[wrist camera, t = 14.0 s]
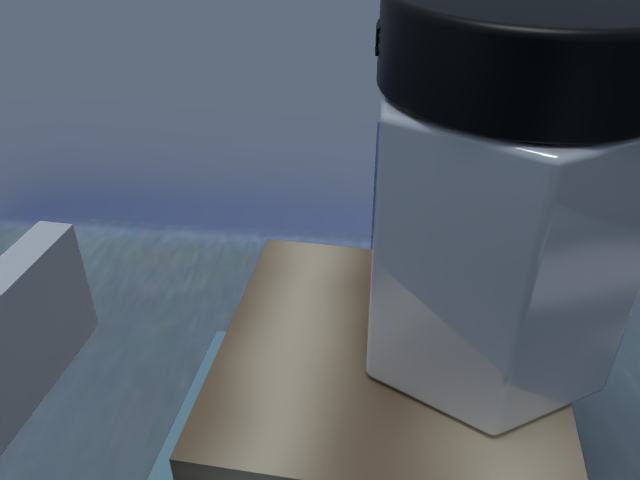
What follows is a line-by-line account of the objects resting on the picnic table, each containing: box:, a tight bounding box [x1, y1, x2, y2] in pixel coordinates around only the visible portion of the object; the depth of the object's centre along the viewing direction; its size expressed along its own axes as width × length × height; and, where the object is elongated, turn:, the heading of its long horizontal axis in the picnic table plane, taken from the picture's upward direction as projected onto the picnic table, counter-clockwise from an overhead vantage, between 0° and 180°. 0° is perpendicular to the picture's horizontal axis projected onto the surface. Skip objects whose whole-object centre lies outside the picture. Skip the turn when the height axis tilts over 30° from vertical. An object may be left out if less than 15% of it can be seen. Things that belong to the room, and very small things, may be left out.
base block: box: [169, 239, 588, 480], centre depth 24 cm, size 12×12×6 cm
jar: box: [366, 0, 640, 436], centre depth 19 cm, size 9×8×12 cm
